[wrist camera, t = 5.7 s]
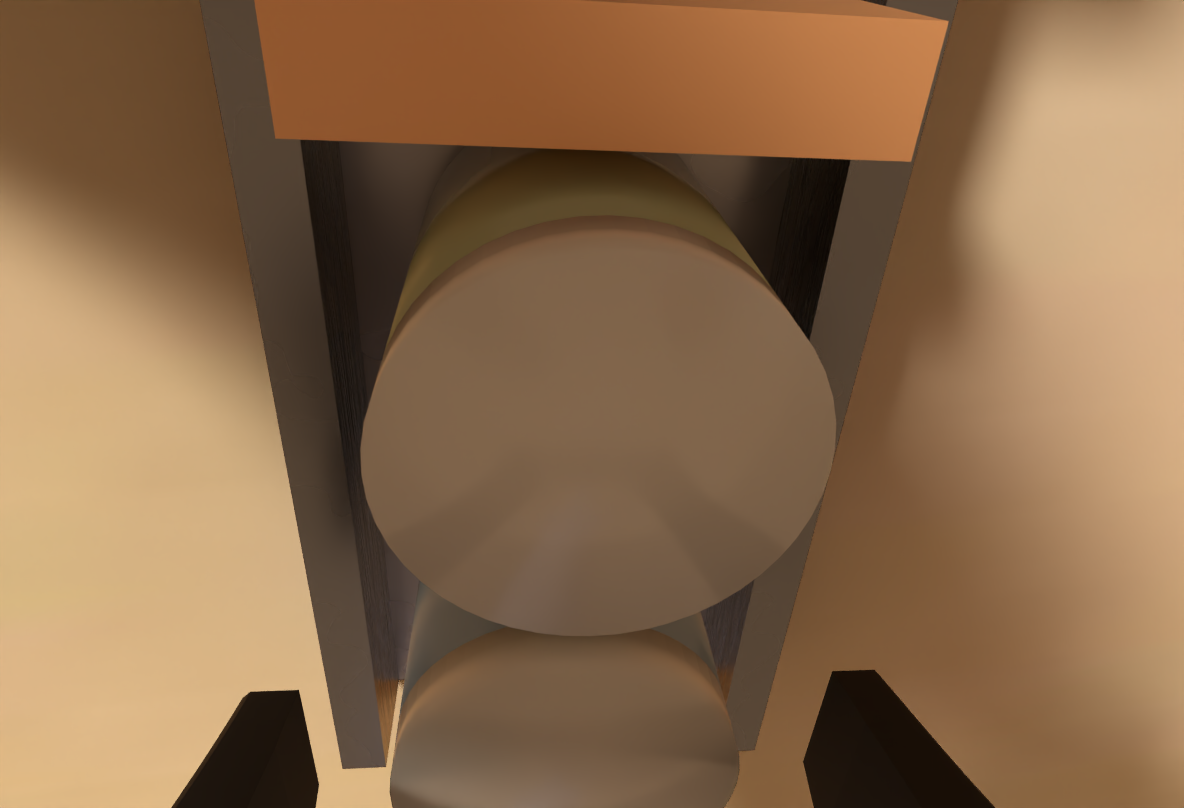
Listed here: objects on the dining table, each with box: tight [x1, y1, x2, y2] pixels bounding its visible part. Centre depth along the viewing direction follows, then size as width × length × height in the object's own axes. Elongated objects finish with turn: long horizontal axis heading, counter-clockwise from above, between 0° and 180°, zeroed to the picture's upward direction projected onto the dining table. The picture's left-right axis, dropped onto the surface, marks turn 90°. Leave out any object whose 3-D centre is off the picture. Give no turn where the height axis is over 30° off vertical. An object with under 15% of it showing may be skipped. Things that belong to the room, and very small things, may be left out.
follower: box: [254, 0, 949, 162], centre depth 8 cm, size 1×6×4 cm, turn 86°
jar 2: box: [390, 580, 739, 808], centre depth 12 cm, size 4×4×5 cm
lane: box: [200, 0, 958, 769], centre depth 11 cm, size 18×8×4 cm, turn 177°
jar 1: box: [360, 146, 836, 636], centre depth 10 cm, size 4×4×5 cm
